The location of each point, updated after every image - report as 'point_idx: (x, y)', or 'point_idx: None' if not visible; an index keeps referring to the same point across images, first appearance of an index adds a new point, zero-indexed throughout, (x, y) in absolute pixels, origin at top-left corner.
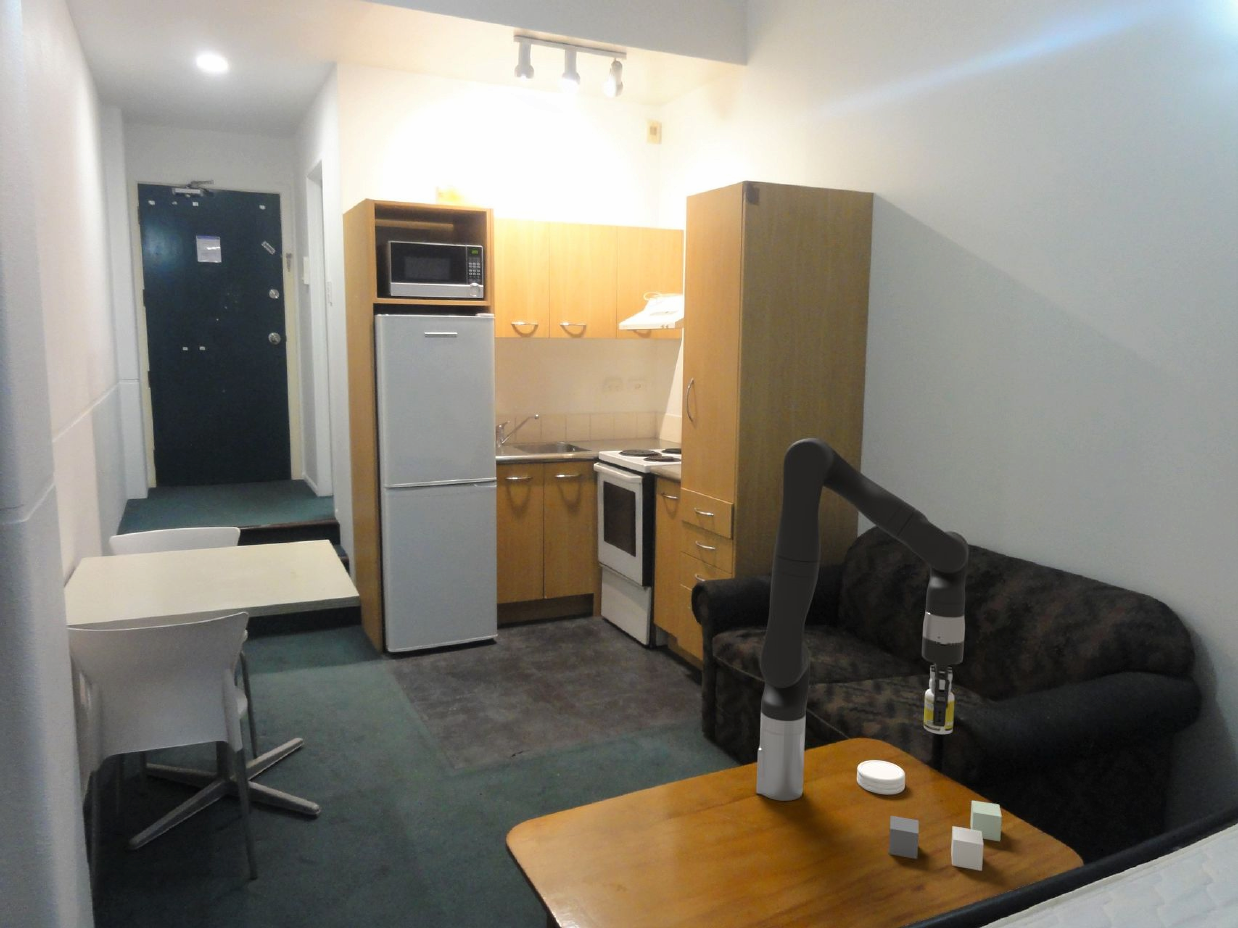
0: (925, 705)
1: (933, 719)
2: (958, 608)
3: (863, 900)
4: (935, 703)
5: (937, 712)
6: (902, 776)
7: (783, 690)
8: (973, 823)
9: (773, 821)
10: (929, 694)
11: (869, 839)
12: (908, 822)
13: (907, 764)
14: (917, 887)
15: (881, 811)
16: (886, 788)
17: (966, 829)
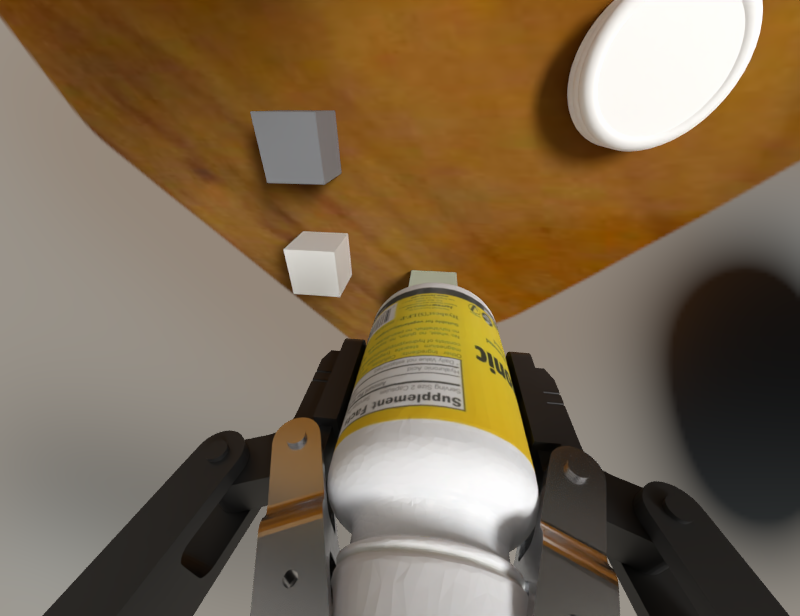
0: (403, 365)
1: (340, 355)
2: None
3: (87, 60)
4: (187, 466)
5: (303, 406)
6: (611, 142)
7: None
8: (409, 282)
9: None
10: (358, 469)
11: (316, 56)
12: (303, 160)
13: (769, 155)
14: (201, 170)
15: (466, 82)
16: (572, 92)
17: (332, 274)
